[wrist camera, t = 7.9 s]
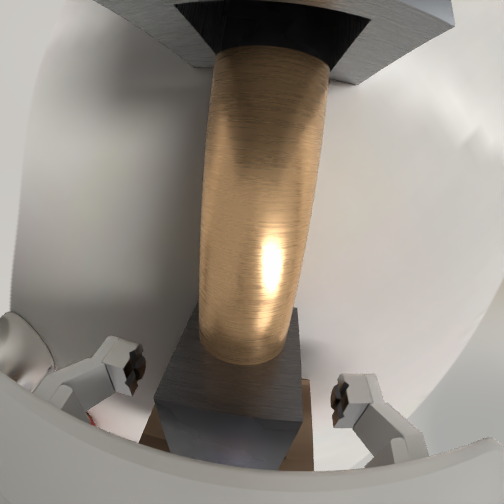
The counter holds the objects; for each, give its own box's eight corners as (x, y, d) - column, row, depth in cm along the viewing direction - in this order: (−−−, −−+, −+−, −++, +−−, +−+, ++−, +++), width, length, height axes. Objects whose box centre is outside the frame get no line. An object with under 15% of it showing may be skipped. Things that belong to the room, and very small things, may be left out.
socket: (174, 360, 14) (134, 453, 8) (309, 379, 13) (314, 482, 8) (180, 408, 16) (155, 484, 10) (290, 425, 15) (288, 506, 10)
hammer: (215, 77, 8) (144, 16, 3) (332, 89, 8) (393, 34, 3) (203, 408, 15) (182, 484, 10) (268, 417, 14) (261, 496, 9)
